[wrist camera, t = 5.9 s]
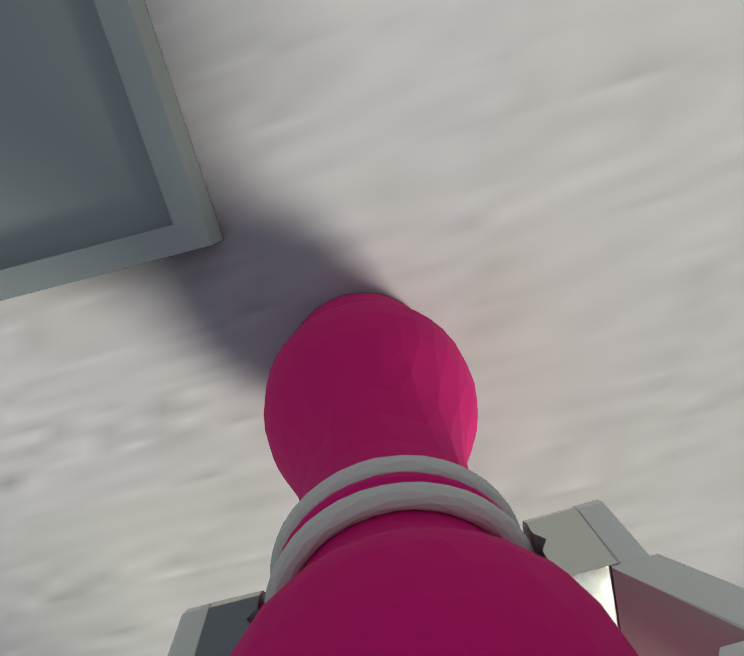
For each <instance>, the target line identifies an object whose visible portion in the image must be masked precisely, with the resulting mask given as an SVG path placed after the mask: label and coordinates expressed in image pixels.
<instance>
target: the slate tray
mask: <svg viewBox="0 0 744 656" xmlns="http://www.w3.org/2000/svg"><path fill="white" fill-rule="evenodd" d="M221 240H223V237H222V234H221V231H220V228H219V225H218V222H217V219H216V216H215V213H214V209H213V206H212V203H211V200H210V197H209V194H208V191H207V188H206V185H205V182H204V179H203V176H202V173H201V170H200V167H199V164H198V161H197V158H196V155H195V152H194V149H193V146H192V143H191V140H190V137H189V134H188V131H187V128H186V125H185V122H184V119H183V116H182V113H181V110H180V107H179V104H178V101H177V98H176V95H175V92H174V89H173V86H172V83H171V80H170V77H169V74H168V71H167V68H166V65H165V61H164V58H163V55H162V52H161V49H160V46H159V43H158V40H157V37H156V34H155V31H154V28H153V25H152V22H151V19H150V16H149V13H148V10H147V7H146V4H145V1H144V0H0V301H2V300H6V299H9V298H13V297H17V296H21V295H25V294H28V293H32V292H36V291H40V290H44V289H47V288H51V287H55V286H59V285H63V284H66V283H70V282H74V281H78V280H82V279H85V278H89V277H93V276H97V275H101V274H104V273H108V272H112V271H116V270H120V269H123V268H127V267H131V266H135V265H139V264H142V263H146V262H150V261H154V260H158V259H161V258H165V257H169V256H173V255H177V254H180V253H184V252H188V251H192V250H196V249H199V248H203V247H207V246H211V245H213V244H215V243H217V242H219V241H221Z"/></svg>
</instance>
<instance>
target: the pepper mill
mask: <svg viewBox="0 0 744 656" xmlns="http://www.w3.org/2000/svg"><path fill="white" fill-rule="evenodd" d="M477 419H478V410H477V397H476V391H475V384H474V381H473V378H472V376H471V373H470V371H469V369H468V366H467V364H466V362H465V360H464V358H463V357H462V355H461V353H460V351H459V349H458V348H457V346H456V344H455V342H454V341H453V340H452V339H451V338H450V337H449V336H448V335H447V333H446V332H445V331H444V330H443V329H442V328H441V327H440V326H438V325H437V324H436V323H434V322H433V321H432V320H431V319H429V318H427V317H426V316H424V315H422V314H420V313H418V312H417V311H414V310H412V309H410V308H409V307H408V306H406V305H404V304H403V303H401V302H399V301H397V300H395V299H392V298H390V297H387V296H384V295H380V294H374V293H356V294H348V295H343V296H340V297H337V298H335V299H332V300H330V301H329V302H327V303H325V304H323V305H322V306H320V307H318V308H317V309H316V310H314V311H313V312H312V313H311V314H310V315H309V316H308V317H307V318H306V319H305V321H304V322H303V323H302V325H301V326H300V327H299V329H298V330H297V331H296V332H295V333H294V334H293V335H292V336H291V337H290V338H289V339H288V341H287V342H286V343H285V344H284V346H283V347H282V349H281V350H280V352H279V353H278V355H277V357H276V359H275V361H274V363H273V366H272V368H271V370H270V373H269V377H268V381H267V386H266V395H265V407H264V422H265V431H266V435H267V438H268V442H269V445H270V449H271V452H272V455H273V458H274V461H275V463H276V465H277V467H278V469H279V471H280V472H281V474H282V476H283V477H284V479H285V480H286V481H287V483H288V484H289V485H290V487H291V488H292V489H293V491H294V492H295V493H296V495H297V496H298V498H299V501H300V502H299V503H298V504H297V505H296V506H295V507H294V508H293V509H292V511H291V512H290V514H289V515H288V517H287V519H286V520H285V522H284V523H283V525H282V527H281V529H280V532H279V534H278V536H277V539H276V542H275V545H274V548H273V552H272V558H271V564H270V579H269V583H268V586H267V589H266V595H265V604H264V605H263V606H262V607H261V609H260V610H259V612H258V613H257V615H256V616H255V618H254V619H253V621H252V622H251V624H250V625H249V627H248V628H247V630H246V631H245V633H244V634H243V636H242V637H241V639H240V640H239V642H238V643H237V645H236V646H235V648H234V649H233V651H232V652H231V654H230V656H638V654H637V652H636V651H635V650H634V648H633V647H632V646H631V644H630V643H629V641H628V640H627V639H626V637H625V636H624V635H623V633H622V632H621V630H620V629H619V628H618V626H617V625H616V624H615V622H614V621H613V620H612V618H611V617H610V616H609V614H608V613H607V612H606V610H605V609H604V608H603V606H602V605H601V604H600V603H599V602H598V601H597V600H596V599H595V598H594V597H593V596H592V595H591V594H590V593H589V592H588V591H587V590H586V589H584V588H583V587H582V586H581V585H580V584H579V583H578V582H577V581H576V580H575V579H574V578H573V577H572V576H570V575H569V574H568V573H567V572H566V571H564V570H563V569H562V568H560V567H559V566H558V565H556V564H555V563H553V562H552V561H550V560H548V559H546V558H544V557H542V556H540V555H537V554H535V551H534V549H533V547H532V545H531V543H530V540H529V539H528V538H527V536H526V535H525V534H524V532H523V531H522V530H521V529H520V526H519V524H518V521H517V519H516V516H515V514H514V513H513V511H512V509H511V507H510V506H509V504H508V503H507V502H506V500H505V499H504V498H503V497H502V496H501V494H500V493H499V492H498V491H497V490H496V489H495V488H494V487H493V486H492V485H491V484H489V483H488V482H487V481H486V480H485V479H483V478H482V477H480V476H479V475H477V474H476V473H474V472H472V471H470V470H469V469H468V466H467V462H468V459H469V457H470V454H471V451H472V447H473V443H474V439H475V436H476V432H477Z"/></svg>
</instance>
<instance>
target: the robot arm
mask: <svg viewBox="0 0 744 656" xmlns="http://www.w3.org/2000/svg"><path fill="white" fill-rule="evenodd" d="M523 531H524V534H525V535H526V536H527V538H528V539H529V540H530V543H531V545H532V547H533V549H534V551H535V554H537V555H540V556H542V557H544V558H546V559H548V560H550V561H552V562H553V563H555V564H556V565H558V566H559V567H560V568H562V569H563V570H564V571H566V572H567V573H568V574H569V575H570V576H572V577H573V578H574V579H575V580H576V581H577V582H578V583H579V584H580V585H581V586H582V587H583V588H584V589H586V590H587V591H588V592H589V593H590V594H591V595H592V596H593V597H594V598H595V599H596V600H597V601H598V602H599V603H600V604H601V605H602V606H603V608H604V609H605V610H606V612H607V613H608V614H609V616H610V617H611V618H612V620H613V621H614V622H615V624H616V625H617V626H618V628H619V629H620V630H621V632H622V633H623V635H624V636H625V637H626V639H627V640H628V641H629V643H630V644H631V646H632V647H633V648H634V650H635V651H636V652H637V654H638V656H744V588H742V587H739V586H737V585H734V584H732V583H729V582H727V581H724V580H722V579H719V578H717V577H714V576H712V575H709V574H707V573H704V572H702V571H699V570H697V569H694V568H692V567H689V566H687V565H684V564H682V563H679V562H677V561H674V560H672V559H670V558H667V557H665V556H662V555H660V554H656V555H652V556H650V555H649V554H648V553H647V552H646V550H645V549H644V548H643V547H642V546H641V545H640V544H639V543H638V541H637V540H636V539H635V538H634V537H633V536H632V535H631V533H630V532H629V531H628V530H627V529H626V528H625V527H624V525H623V524H622V523H621V522H620V521H619V520H618V519H617V518H616V516H615V515H614V514H613V513H612V512H611V511H610V510H609V508H608V507H607V506H606V505H605V504H604V503H603V502H602V501H600V500H598V499H597V500H594V501H591V502H587V503H584V504H580V505H577V506H574V507H573V508H569V509H565V510H562V511H558V512H554V513H551V514H547V515H543V516H540V517H536V518H533V519H529V520H525V521H523ZM265 595H266V592H264V591H259V592H255V593H251V594H246V595H242V596H238V597H234V598H230V599H226V600H222V601H218V602H213V603H212V604H207V605H203V606H199V607H195V608H191V609H188V610H187V611H186V612H185V613H184V614H183V615H182V617H181V619H180V622H179V625H178V628H177V631H176V633H175V636H174V639H173V642H172V645H171V648H170V650H169V653H168V656H230V654H231V652H232V651H233V649H234V648H235V646H236V645H237V643H238V642H239V640H240V639H241V637H242V636H243V634H244V633H245V631H246V630H247V628H248V627H249V625H250V624H251V622H252V621H253V619H254V618H255V616H256V615H257V613H258V612H259V610H260V609H261V607H262V606H263V605H264V604H265Z"/></svg>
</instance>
